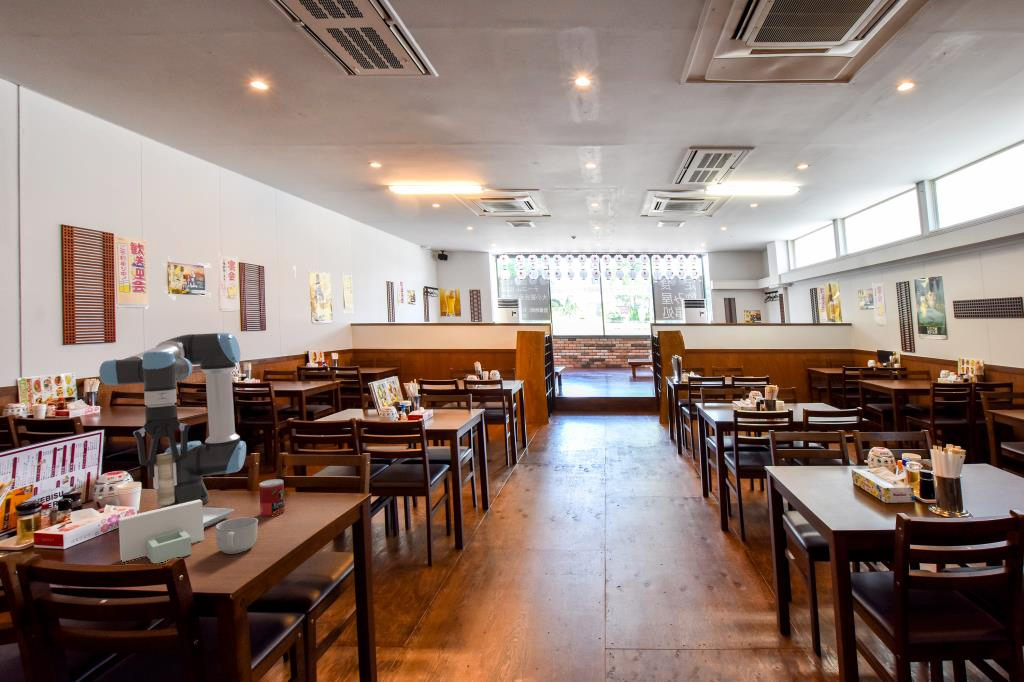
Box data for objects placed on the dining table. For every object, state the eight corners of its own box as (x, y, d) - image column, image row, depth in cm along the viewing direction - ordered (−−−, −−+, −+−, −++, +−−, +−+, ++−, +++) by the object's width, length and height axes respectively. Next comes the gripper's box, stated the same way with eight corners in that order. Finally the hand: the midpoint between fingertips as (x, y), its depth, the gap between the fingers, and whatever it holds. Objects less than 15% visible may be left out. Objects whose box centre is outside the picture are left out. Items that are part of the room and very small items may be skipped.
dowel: (156, 503, 142) (153, 455, 141) (172, 500, 144) (170, 452, 144) (159, 506, 139) (157, 457, 139) (176, 502, 142) (173, 454, 142)
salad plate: (236, 517, 173) (236, 507, 172) (184, 542, 152) (183, 531, 152) (186, 515, 177) (185, 505, 177) (128, 539, 156) (128, 528, 156)
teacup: (228, 543, 149) (226, 517, 149) (265, 540, 150) (264, 514, 150) (203, 564, 135) (201, 535, 135) (244, 561, 136) (243, 532, 136)
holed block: (147, 556, 141) (146, 538, 141) (183, 545, 148) (183, 529, 148) (153, 565, 135) (152, 547, 135) (191, 554, 142) (190, 536, 141)
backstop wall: (120, 560, 140) (118, 518, 140) (201, 537, 154) (199, 499, 154) (122, 563, 138) (120, 520, 138) (204, 539, 152) (202, 501, 152)
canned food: (275, 517, 169) (274, 485, 169) (255, 516, 171) (253, 485, 171) (289, 509, 177) (288, 479, 177) (270, 509, 179) (268, 478, 178)
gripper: (126, 410, 133) (131, 496, 133) (198, 402, 145) (202, 481, 145) (122, 408, 138) (126, 491, 138) (191, 400, 150) (195, 477, 150)
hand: (165, 486), depth 142 cm, fingers closed on dowel, 4 cm apart
